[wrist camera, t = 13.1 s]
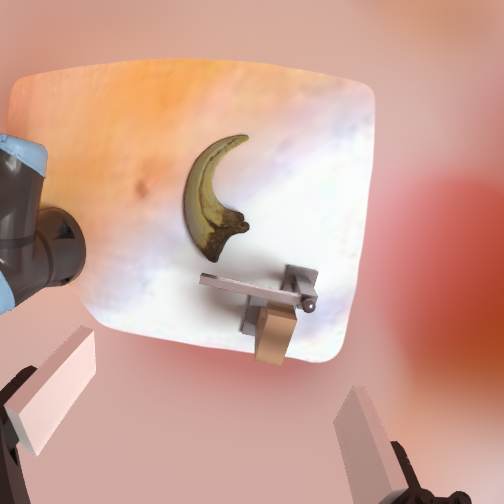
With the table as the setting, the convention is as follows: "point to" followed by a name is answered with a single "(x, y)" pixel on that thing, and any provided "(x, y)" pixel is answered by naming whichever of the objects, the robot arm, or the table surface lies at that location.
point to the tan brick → (274, 331)
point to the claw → (211, 203)
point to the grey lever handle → (294, 289)
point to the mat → (255, 313)
